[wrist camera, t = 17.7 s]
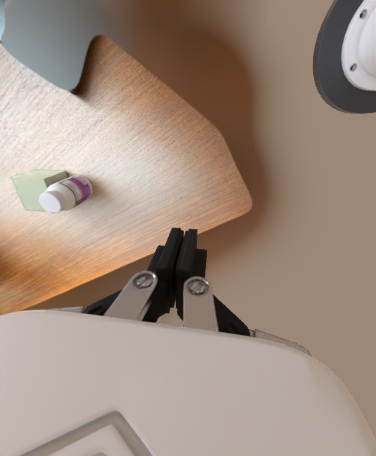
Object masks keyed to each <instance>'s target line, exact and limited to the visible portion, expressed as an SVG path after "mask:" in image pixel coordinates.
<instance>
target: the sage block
mask: <svg viewBox="0 0 376 456" xmlns="http://www.w3.org/2000/svg"><path fill="white" fill-rule="evenodd" d="M10 178H11V180H12V182H13V184H14V187H15V189H16V191H17V193H18V195H19V197H20V200H21V202H22V204H23V206H24V208H25V210H28V211H41V212H48V211H46V210H45V209H44V208H43V207H42V206H41V205H40V202H39V196H40V195H41V194H42V193H44V192H46V190H47V188H48V187H49V186H50V185H52V184H54V183H57V182H59V181H62V180H64V179H66V178H67V175H66V171H57V170H37V169H35V170H32V171H29V172H25V173H22V174H18V175H15V176H12V177H10Z"/></svg>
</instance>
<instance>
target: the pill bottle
mask: <svg viewBox="0 0 376 456" xmlns="http://www.w3.org/2000/svg"><path fill="white" fill-rule="evenodd" d="M92 191H93V189H92V185H91V183H90V182H89V180H87V179H86V178H85V177H83V176H80V175H74V176H71V177H69V178H66V179H64V180H62V181H59V182H57V183H54V184H52V185H50V186H49V187H48V188H47V190H46V192H44V193H42V194H41V195H40V196H39V202H40V205H41V206H42V207H43V208H44V209H45V210H46V211H48V212H50V213H58V212H60V211H62V210H63V211H66V210H70V209H72V208H74V207H75V206H77V205H78V204H80V203H81V202H83V201H84V200H86V199H87V198H89V197H90V196H91V194H92Z"/></svg>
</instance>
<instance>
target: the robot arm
mask: <svg viewBox="0 0 376 456" xmlns="http://www.w3.org/2000/svg"><path fill="white" fill-rule="evenodd" d="M360 15H361V18H360ZM341 61H342V68H343V71H344V74H345V76H346V78H347V79H348V81H349V82H350V83H351V84H352V85H353V86H354V87H356V88H359V89H361V90H365V91H376V0H364V1H363V2H362V4H361V5H360V6H359V8H358V9H357V11H356V12H355V14H354V16H353V18H352V20H351V22H350V24H349V26H348V29H347V31H346V34H345V37H344V41H343V45H342V54H341ZM351 67H352V69H351V71H350V68H351ZM196 247H197V229H189V231H186V232H185V235H184V231H183V230H181V228H172V229H171V232H170V234H169V237H168V239H167V242H166V244H165V246H161V245H159V246H158V247H157V249H156V251H155V254H154V256H153V258H152V260H151V263H150V265H149V267H148V269H147V271H142V272H139V273H137V274H135V275H134V276H133V277H132V278H131V279H130V281H129V282H128V283H127V285H126V286H125V288H124V289H122V290H120V291H118V292H116V293H114V294H112V295H110V296H108V297H106V298H104V299H101V300H99V301H97V302H95V303H93V304H92V305H90V306H88V307H87V308H85V309H84V307H83V306H81V307H70V308H57V309H46V310H27V311H18V312H13V313H8V314H4V315H1V316H0V456H376V439H375V437H374V435H373V433H372V431H371V430H370V428H369V426H368V424H367V422H366V420H365V418H364V416H363V415H362V413H361V411H360V409H359V408H358V406H357V404H356V402H355V401H354V399H353V397H352V396H351V394H350V393H349V391H348V390H347V388H346V387H345V385H344V384H343V383H342V382H341V380H340V379H339V378H338V377H337V376H336V374H335V373H333V372H332V371H331V370H330V369H329V368H328V367H326V366H325V365H324V364H322V363H321V362H320V361H318V360H316V359H314V358H313V357H312V356H311V354H310V353H309V351H308V350H306V349H305V348H304V347H303V346H301V345H299V344H297V343H294V342H291V341H289V340H286V339H283V338H280V337H277V336H274V335H271V334H268V333H265V332H263V331H260V330H257V329H255V331H253V330H250V329H248V327H247V326H246V325H245V324H244V323H243V322H242V321H241V320H240V319H239V318H238V317H237V316H236V315H235V314H233V313H232V312H231V311H230V310H229V309H228V308H227V307H226V306H225V305H224V304H223V303H222V302H220V301H219V300H218V299H217V298H216V297H215V296H214V295H213V294H212V287H211V284H210V283H209V281H208V280H207V279H205V269H206V257H207V250H204V249H196ZM175 300H176V308H177V314H178V316H179V317H180V318H181V319H182V321H183V327H181V326H173V325H166V324H159V323H160V319H161V316H162V315H164V314H165V313H169V311H170V308H174V304H175Z"/></svg>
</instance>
